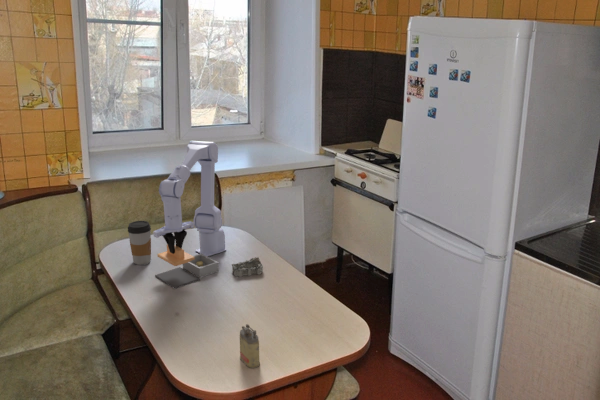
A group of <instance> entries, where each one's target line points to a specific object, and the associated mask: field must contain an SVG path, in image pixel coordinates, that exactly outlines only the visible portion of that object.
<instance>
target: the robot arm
mask: <svg viewBox="0 0 600 400" xmlns="http://www.w3.org/2000/svg"><path fill="white" fill-rule="evenodd" d="M218 159H219V147H218V144H217V143H216V142H215V141H202V140H201V141H200V140H199V141H198V140H193V139H192V140H190V141H189V142H188V143H187V145H186V154H185V156H184V158H183V160H182V162H181V164H178V165H176V166H175V167H174V169H173V170H172V172H171V173H170V174H169V176H168V177H167V178H166V179H164V180H161V182H160V184H159V186H158V187H159V188H158V194H159V195H160V198H161V202H162V203H163V213H164V215H163V216H164V226H162V227H161V228H160V227H159V228H158V229H156V230H153V232H152V233H153V237H154V238H156V239H158V238H160V237H162V238H163V239H164V240H165V242H166V246H167V245H168V247H169V250H170V252H171V253H172V254H174V253H175V245H176V246H178V247H180V248H181V249H183V245H184V241H185V239H186V237H187V233H188V232H187V231H186V230H187V229H194V228H195V229H196V230H197V231H198V236H199V248H198V249H197V248H196V249H195V252H196V253H198V254H203V255H205V256H207V257H210V256H212V255H216V254H219V253H222V252H223V253H224V252H225V251H227V248H226V235H225V231H224V229H223V228H222V225H223V218H222V210H221V209H220V208H218V207H217V206H216V205H215V170H216V169H215V165H216V163H218ZM197 162H198V164H199V165H200V206H199V207H197V208H196V209H195V210H194V217H193V221H185V222H183V213H182V202H181V199H182V198H181V197H182V196H183V193H184V190H185V184H186V183H187V182H188V180H189V178H190V176H191V170H192V168H193V167H194V166H195V165H196V164H197Z"/></svg>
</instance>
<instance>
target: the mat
mask: <svg viewBox="0 0 600 400" xmlns="http://www.w3.org/2000/svg"><path fill="white" fill-rule="evenodd" d="M154 276H155V277H156V278H157V279H158V280H160V281H161V282H163V283H165V284H167V285H168V286H170V287H172V288H173V289H178V288H181V287H184V286H187V285H189V284H192V283H195V282H198V281H200V280H201V278H200V277H198V276H196V275H194V274H193V273H191V272H189V271H187V270H185V269H184V268H183V267H181V266H179V267H176V268H173V269H170V270H167V271H163V272H161V273H157V274H155V275H154Z"/></svg>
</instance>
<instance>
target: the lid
mask: <svg viewBox="0 0 600 400" xmlns="http://www.w3.org/2000/svg"><path fill="white" fill-rule="evenodd" d="M194 256H195V255H191V254H190V253H188V252H187V251H185V249H183V248H182V249H181V248H180V247H178V246H176V244H175V253H174V254H172V253H171V252H170V250H169V247H168V245H167V244H166V251H162V252H160V253H157V258H159V259H161V260H163V261H165V262H166V263H168V264H170V265H171V266H173V267H178V266H181V265H183V264H184V263H188V262H190V261H192V260H195V258H194Z"/></svg>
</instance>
